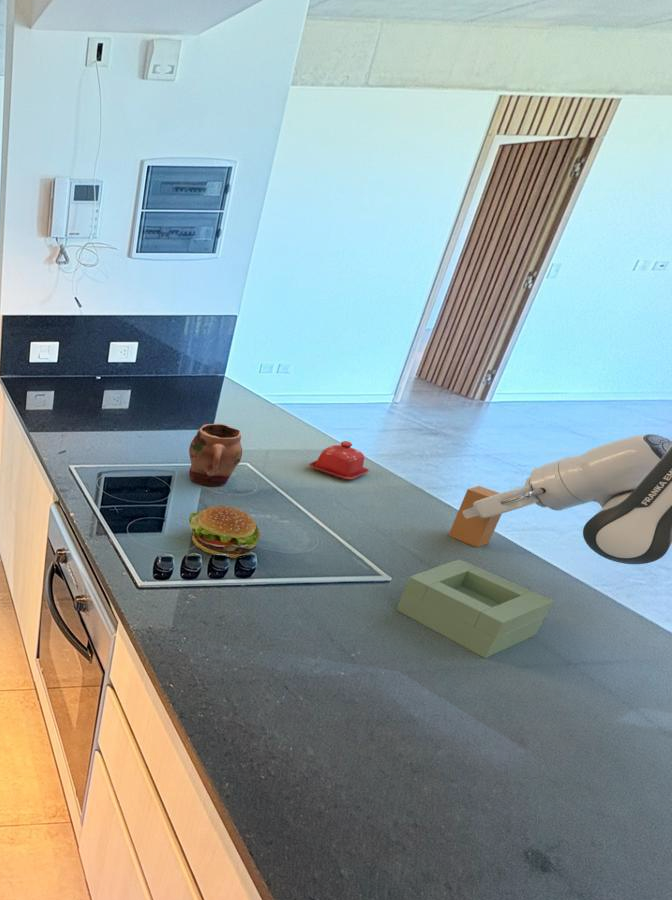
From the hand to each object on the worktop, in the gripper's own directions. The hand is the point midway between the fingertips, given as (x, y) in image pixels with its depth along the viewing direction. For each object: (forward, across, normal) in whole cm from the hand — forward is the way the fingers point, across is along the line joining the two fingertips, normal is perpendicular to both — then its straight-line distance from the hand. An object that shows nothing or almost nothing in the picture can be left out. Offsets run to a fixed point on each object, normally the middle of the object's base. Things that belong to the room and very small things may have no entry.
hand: (479, 510), depth 127 cm
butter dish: (+30, +8, +20) cm, 37 cm away
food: (+19, -50, +9) cm, 54 cm away
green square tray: (-7, -32, -17) cm, 37 cm away
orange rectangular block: (+5, 0, -5) cm, 7 cm away
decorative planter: (+37, -28, +26) cm, 53 cm away
